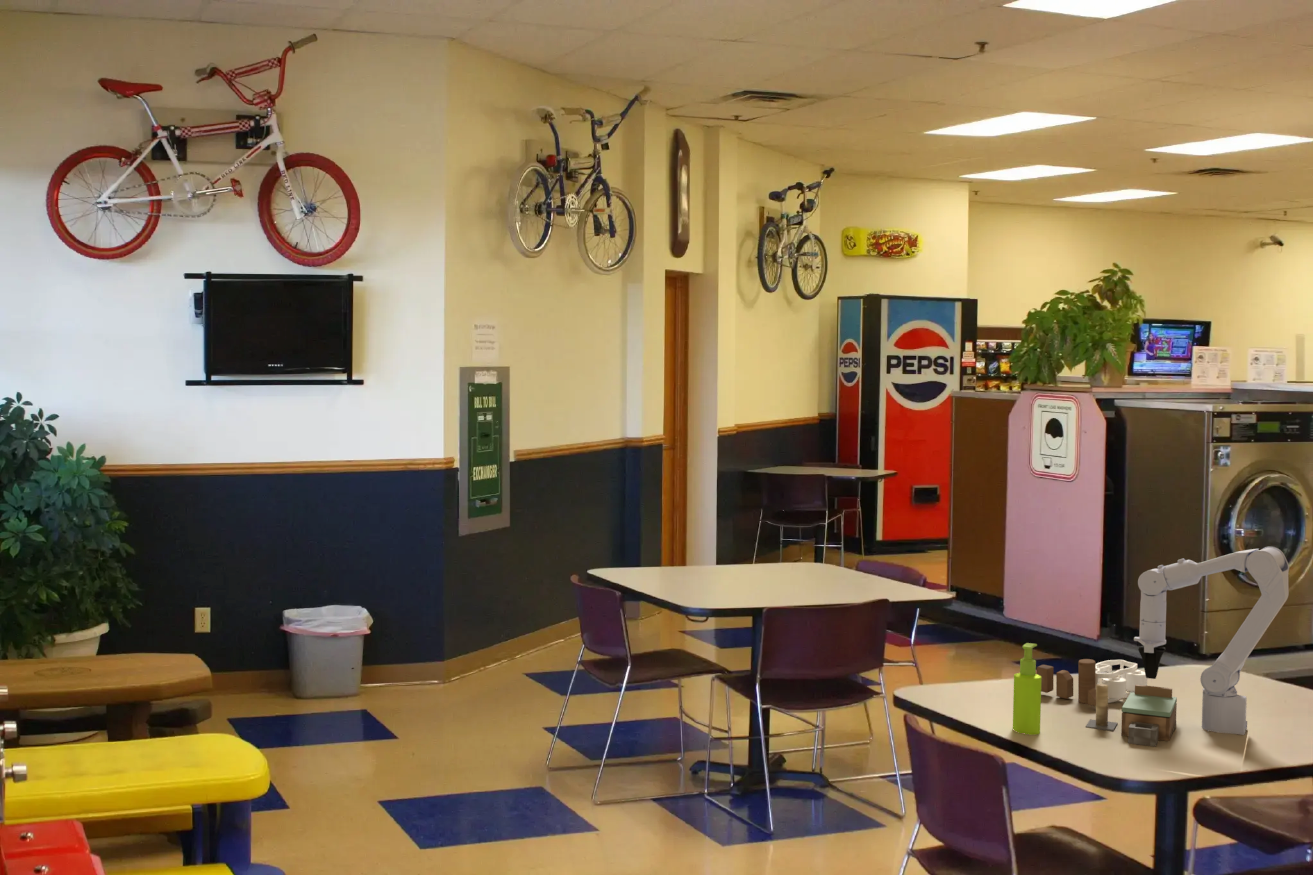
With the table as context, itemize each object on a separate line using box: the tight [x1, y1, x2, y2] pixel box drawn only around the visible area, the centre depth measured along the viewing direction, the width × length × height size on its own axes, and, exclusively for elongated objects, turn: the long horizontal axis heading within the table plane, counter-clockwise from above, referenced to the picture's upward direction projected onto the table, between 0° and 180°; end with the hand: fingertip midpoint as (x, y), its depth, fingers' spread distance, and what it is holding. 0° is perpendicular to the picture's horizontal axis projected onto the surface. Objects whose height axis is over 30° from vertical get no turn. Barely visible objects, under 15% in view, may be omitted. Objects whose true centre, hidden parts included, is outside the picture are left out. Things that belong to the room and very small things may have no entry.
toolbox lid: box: [1121, 685, 1178, 717], centre depth 298 cm, size 10×16×3 cm, turn 154°
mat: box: [1085, 719, 1118, 732], centre depth 301 cm, size 6×7×1 cm
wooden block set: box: [1036, 658, 1096, 707], centre depth 323 cm, size 18×9×10 cm, turn 43°
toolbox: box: [1120, 702, 1178, 747], centre depth 296 cm, size 10×22×5 cm, turn 154°
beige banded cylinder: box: [1095, 683, 1109, 726], centre depth 301 cm, size 3×3×9 cm
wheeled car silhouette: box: [1095, 659, 1148, 704], centre depth 330 cm, size 20×11×7 cm, turn 133°
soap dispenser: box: [1012, 642, 1042, 736], centre depth 294 cm, size 6×7×20 cm
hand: (1151, 677), depth 309 cm, fingers closed
